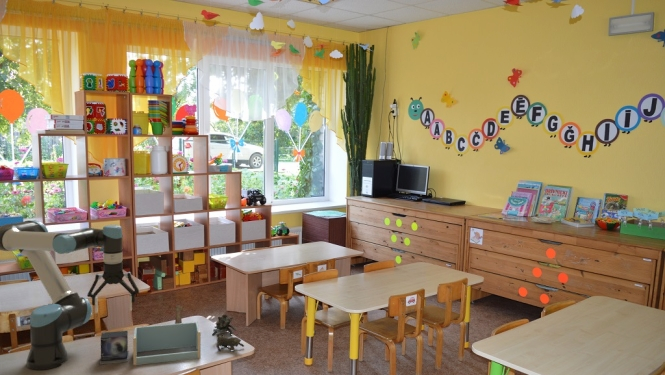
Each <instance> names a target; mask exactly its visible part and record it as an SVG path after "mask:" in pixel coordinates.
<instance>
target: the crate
mask: <svg viewBox="0 0 665 375" xmlns="http://www.w3.org/2000/svg"><path fill="white" fill-rule="evenodd" d="M133 333H134V334H133V338H132V344H133V346H132V348H133V349H132V350H133V352H132V353H133V354H132V355H133V357H132V358H133V359H132V360H133V363H132V364H133V366H137V365H138V366H139V365H149V364H157V363H165V362H174V361H175V362H176V361H184V360H185V361H186V360H192V359H195V360H196V359H201V356H202V354H201V353H202V352H201V350H202V348H201V346H202V344H201V338H202V337H201V336H202V335H201V334H202V332H201V330H200V327H199V324H198V321H192V322H182V323H180V324H175V323H171V324H170V323H169V324H160V325H158V324H157V325H148V326H147V325H146V326H136V327H134V332H133ZM188 347H195V348H196V350H194V351H193V350H192V351H182V352H175V353H173V352H172V353H164V354H163V353H162V354H154V355H153V354H152V355H145V356H138V353H139V352H140V353H141V352H150V351H159V350H170V349H180V348H188Z"/></svg>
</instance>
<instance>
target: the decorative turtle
mask: <svg viewBox="0 0 665 375" xmlns="http://www.w3.org/2000/svg"><path fill="white" fill-rule="evenodd" d="M217 319H218V321H217V323H216V324H215V325H216V326H214V328H213V330H212V334H211V335H212V336H215V334H219V333H220V334H222V333H224V334H225V333H227V332H228V333H229V336H232V337H233V331H232V330H234V331H238V330H237V328H235V326H233V325H231V322H232V321H233V319H234V317H233V316H231V317H229V316H228V315H227V314H226V313H225V314H223V315H221V316H218V317H217ZM226 331H227V332H226ZM231 334H232V335H231Z"/></svg>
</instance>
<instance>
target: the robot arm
mask: <svg viewBox="0 0 665 375" xmlns="http://www.w3.org/2000/svg"><path fill="white" fill-rule="evenodd" d="M93 247H94V248H96V247H98V248H102V254H103V256H102V257H103V259H102V261H103V264H102V265H103V274H100V273H96V274H95V276H94V281H93V283H92V285H91V287H90V289H89V290H88V292H87V295H86V297H88V298H91V302H90V300H89V299H88V298H85V297H81V296H80V295H79V293H78V292H76V291H73V290H72V289H71V287H70V285H69V283H68V282H67V281H66V279H65V277H64V275H63V273H62V271H61V270H60V268H59V266H58V265H57V263H56V261H55V259H54V257H53V256H52V254H51V252H56V253H57V254H59V255H63V254H69V253H73V252H76V251H80V250H86V249H89V248H93ZM17 250H18V251H19V253H20V255H21V256H23V257H27V259H28V261H29V262H30V264H31V266H32V268H33V269H34V271H35V273H36V275H37V277H38V278H39V280H40V282H41V284H42V285H43V287H44V289H45V290H46V293H47V294H48V296H49V297H50V300H51V301H52V303H48V304H43V305H40V306H38V307H36V308H35V309H33V310H32V312H31V313H30V316H29V318H30V320H29V327H30V330H29V331H30V349H29V352H28V356H27V358H26V366H27V369H31V370H37V371H39V370H41V371H43V370H49V369H52V368H57V367H59V366H62V364H64V363H65V362H66V361H68V352H67V350H66V347H65V345H64V343H63V342H64V341H63V333H65V332H67V331H70V330H73V329H76V328H78V327H81V326H83V325H85V324H86V323H87V322H89V321H90V320H91V317H92V313H93V307H92V306H94V314H98V312H99V311H98V310H99V309H98V306H99V305H98V304H99V300H98V295H99V293H100V292H101V291H102V290H103V289H104V288H105V286H107V284H108V285H118V284H120V285H121V286H122V287H123V288H124V289H125V290H126V291H127V292H128V293H129V312H131V311H132V310H133V303H135V302H136V299H135V297H136V295H137V294H139V293H140V290H139V287H138V286H137V284H136V283H135V281H134V279H133V277H132V272H131V271H128V272H124V268H123V266H124V265H123V264H124V263H123V253H124V252H123V228H122V226H121V225H119V224H108V225H104V226H103V228H102V229H100V228H94V227H84V228H82V229H81V230H80V231H75V232H70V233H68V232H51V231H50V232H49V230H48V228H47V226H46V225H45V224H44V223H43V222H41V221H39V220H36V219H35V220H26V221H20V222H14V223H8V224H3V225H1V226H0V251H2V252H17ZM124 277H125V278H126V279H128V282H129V283H130V285H131V287H130V286H129V284H127V283H126V282H125V280H124ZM101 278H102V279H103V280H104V281H102V283H101V284H100V285H99V287H98V288H97V289H96V290H95V291H94V289H95V287H96V285H97V284H98V281H99V280H101ZM93 291H94V292H93Z"/></svg>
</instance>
